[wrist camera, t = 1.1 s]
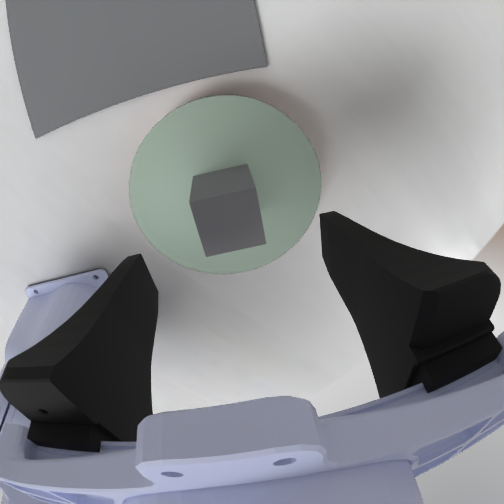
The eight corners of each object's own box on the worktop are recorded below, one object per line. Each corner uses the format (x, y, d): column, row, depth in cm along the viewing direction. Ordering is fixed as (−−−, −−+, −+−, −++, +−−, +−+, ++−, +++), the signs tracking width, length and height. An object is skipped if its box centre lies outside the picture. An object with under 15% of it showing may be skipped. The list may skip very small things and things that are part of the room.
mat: (39, 137, 17) (35, 138, 16) (8, -13, 10) (4, -13, 9) (265, 66, 17) (267, 66, 16) (229, -95, 10) (229, -98, 9)
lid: (165, 281, 21) (158, 326, 17) (108, 126, 15) (79, 145, 11) (322, 246, 21) (344, 286, 17) (304, 79, 15) (333, 84, 11)
